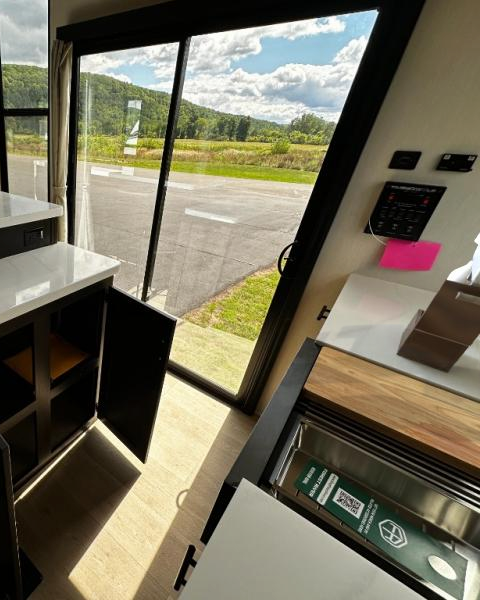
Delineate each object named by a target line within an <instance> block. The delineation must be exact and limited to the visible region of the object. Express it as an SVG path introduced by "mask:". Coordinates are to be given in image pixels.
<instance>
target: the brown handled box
mask: <svg viewBox="0 0 480 600" xmlns="http://www.w3.org/2000/svg"><path fill="white" fill-rule="evenodd" d="M447 279H448V278H447ZM447 279H445V280H444V281H443V283H442V284H441V285H440V287H439V289H438V291H436V293H435V295H434V296H433V298H432V299H431V301H430V302H429V304H428V306H427V307H426V308H425V312H424V313H423V315H422V316H421V318H420V319H419V321H418V322H417V324H416V325H415V327H414V328H415V329H418V330H421V331H424V332H427V333H430V334H434V335H437V336H440V337H443V338H446V339H449V340H453V341H456V342H459V343H462V344H465V345H468V346H469V347H471V346H472V345H473V343H474V342H475V340H477V339H478V337H479V336H480V287H477V286H473V285H468V284H464V283H460V282H456V281H451V280H447Z"/></svg>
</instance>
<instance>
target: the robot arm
mask: <svg viewBox="0 0 480 600" xmlns="http://www.w3.org/2000/svg"><path fill="white" fill-rule="evenodd" d="M474 243H475V244H477V247H476V249H475V251H474V253H473V256H472V260H473V264H472V270H471V272H470V274H469V275H468V277H467V280H468V281H471V282H472V283H471V285H473V286H477V287H480V232H479V233H478V235H477V236H476V238H475V239H474Z"/></svg>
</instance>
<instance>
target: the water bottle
mask: <svg viewBox="0 0 480 600" xmlns="http://www.w3.org/2000/svg"><path fill="white" fill-rule="evenodd" d="M472 264H473V259H471V260H470V261H469V262H467V264H466V265H464V266H461V267H458V268H456V269H454V270H453V271H451V273H450V274H449V275H448V277H447V280H451V281H456V282H460V283H464V284H468V285H471V283H472V282H471V281H468V280H467V277H468V275H469V274H470V272H471V270H472Z"/></svg>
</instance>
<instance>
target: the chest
mask: <svg viewBox="0 0 480 600" xmlns="http://www.w3.org/2000/svg"><path fill="white" fill-rule="evenodd" d="M425 310H426V309H425ZM425 310H424V309H422V308H418V310H417V311H416V312H415V313H414V315H413V317H412V318H411V319H410V321H409V323H408V324H407V326H406V328H405V329H404V331H403V332H402V334H401V338H400V341H399V344H398V348H397V350H396V355H397V356H400V357H403V358H405V359H408V360H410V361H413V362H414V361H415V362H417V363H419V364H422V365H424V366H428V367H430V368H433V369H436V370H439V371H442V372H443V373H447V374H448V373H449V372H450V371H451V370H452V369H453V367H454V366H455V364H456V363H457V362H458V361H459V360H460V358H462V356H463V355H464V354H465V353H466V351H467V350H468V349H469V348H470V346H468V345H465V344H462V343H459V342H456V341H453V340H449V339H446V338H443V337H440V336H437V335H434V334H430V333H427V332H424V331H421V330H418V329H415V328H414V327H415V325H416V324H417V322H418V321H419V319H420V318H421V316H422V315H423V313H424V312H425Z"/></svg>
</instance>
